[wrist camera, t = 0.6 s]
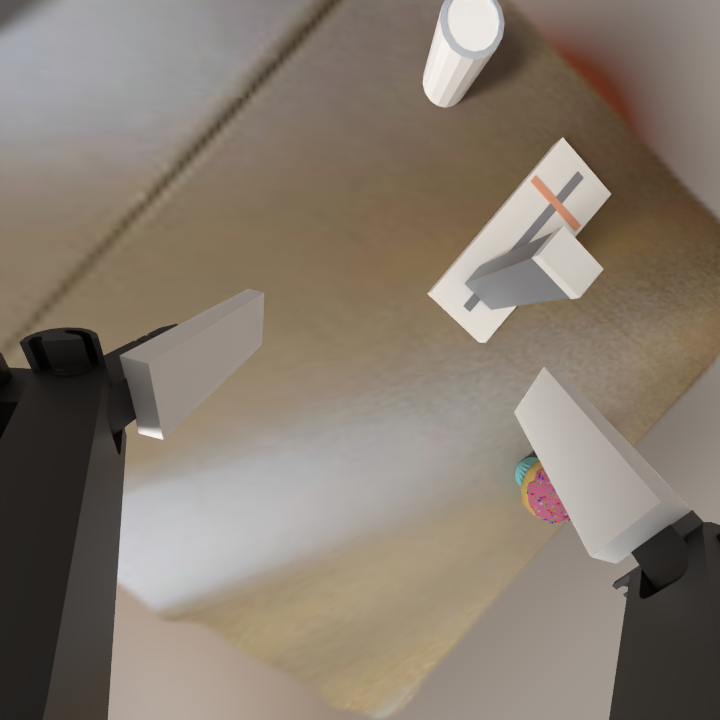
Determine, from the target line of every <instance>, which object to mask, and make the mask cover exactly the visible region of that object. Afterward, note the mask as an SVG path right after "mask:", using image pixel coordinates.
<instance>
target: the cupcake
mask: <svg viewBox="0 0 720 720" xmlns="http://www.w3.org/2000/svg"><path fill="white" fill-rule="evenodd" d="M515 477H516V480H517V482H518V484H519V485H520V487H521V497H522V502H523V503H524V505H525V506H526V507H527V508H528V510H529V511H530V512H531V513H532V514H533V515H535V516H537V517H538V518H540V519H542V520H546V521H550V523H551V522H552V523H553V522H560V523H562V522H564V521H565V522H568V521H569V520H571V519H570V517H569V515H568V513H567V512H566V510H565V508H564V506H563V504H562V502H561V500H560V498H559V496H558V494H557V493H556V491H555V489H554V487H553V485H552V483H551V481H550V479H549V477H548V476H547V474H546V472H545V470H544V468H543V466H542V464H541V462H540V460H539V459H538V458H536V457H528V458H525V459H523V460H522V461H521V462H520V463H519V464H518V466H517V468H516V471H515Z"/></svg>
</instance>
